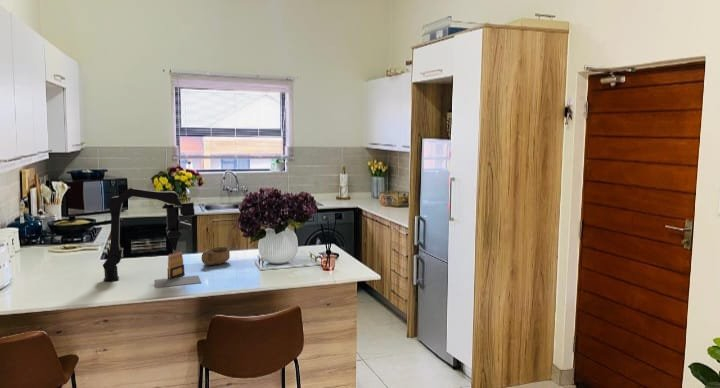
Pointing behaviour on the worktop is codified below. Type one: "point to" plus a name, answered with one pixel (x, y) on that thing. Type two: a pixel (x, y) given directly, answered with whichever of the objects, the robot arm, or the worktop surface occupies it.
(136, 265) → the worktop surface
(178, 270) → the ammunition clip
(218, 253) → the bowl
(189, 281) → the rubber mat
